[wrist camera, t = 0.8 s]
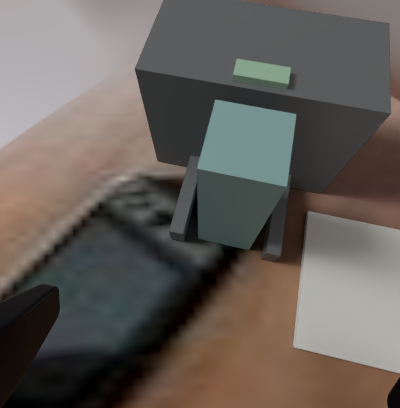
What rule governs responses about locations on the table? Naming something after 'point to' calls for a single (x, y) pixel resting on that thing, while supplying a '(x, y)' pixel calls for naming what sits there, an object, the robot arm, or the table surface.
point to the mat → (350, 292)
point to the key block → (242, 171)
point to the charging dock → (263, 88)
